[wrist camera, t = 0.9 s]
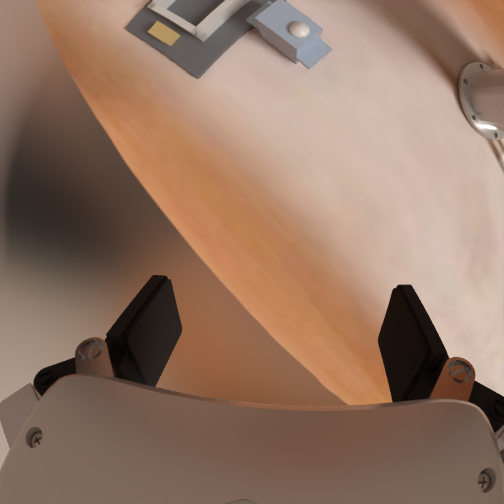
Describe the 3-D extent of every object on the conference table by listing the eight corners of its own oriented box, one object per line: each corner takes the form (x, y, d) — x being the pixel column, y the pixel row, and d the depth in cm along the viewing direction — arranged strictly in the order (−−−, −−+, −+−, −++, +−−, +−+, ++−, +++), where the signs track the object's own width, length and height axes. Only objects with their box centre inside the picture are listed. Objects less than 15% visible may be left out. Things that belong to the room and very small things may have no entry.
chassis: (209, -47, 19) (202, -59, 15) (291, -4, 22) (291, -17, 19) (128, 30, 26) (114, 24, 23) (198, 79, 30) (187, 74, 26)
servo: (271, 11, 24) (266, -13, 18) (328, 56, 26) (337, 40, 20) (250, 28, 26) (240, 7, 19) (307, 74, 28) (311, 61, 21)
